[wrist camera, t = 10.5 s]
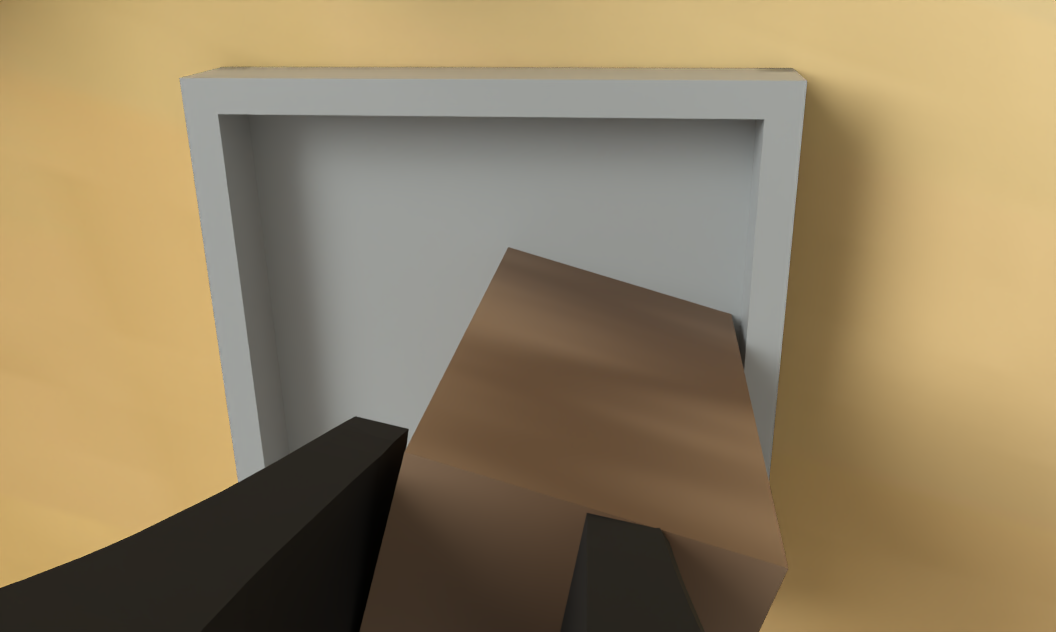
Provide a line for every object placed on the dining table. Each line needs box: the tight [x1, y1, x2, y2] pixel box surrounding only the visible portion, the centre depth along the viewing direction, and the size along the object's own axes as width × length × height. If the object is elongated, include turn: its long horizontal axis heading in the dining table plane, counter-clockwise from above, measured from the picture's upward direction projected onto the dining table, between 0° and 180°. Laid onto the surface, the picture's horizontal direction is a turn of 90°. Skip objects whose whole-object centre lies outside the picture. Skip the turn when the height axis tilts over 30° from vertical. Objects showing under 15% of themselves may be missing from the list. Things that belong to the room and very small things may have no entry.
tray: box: [180, 67, 807, 482], centre depth 15 cm, size 9×9×1 cm
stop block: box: [360, 247, 788, 632], centre depth 12 cm, size 4×4×6 cm
